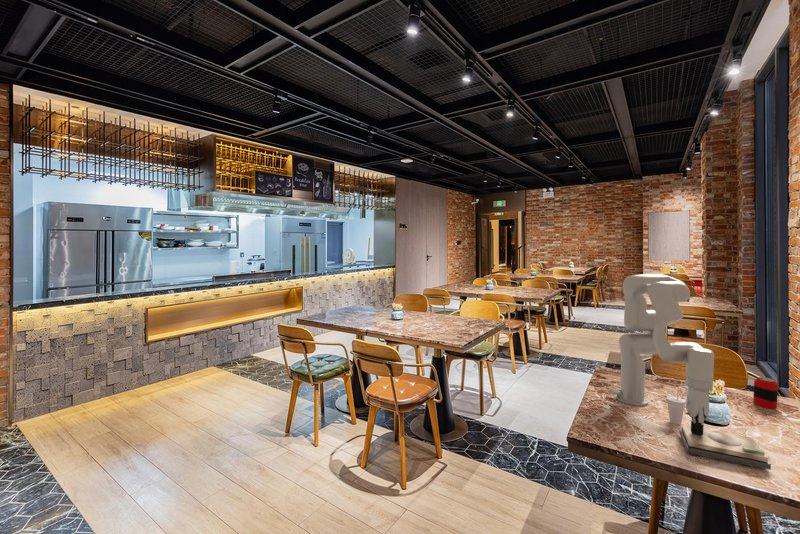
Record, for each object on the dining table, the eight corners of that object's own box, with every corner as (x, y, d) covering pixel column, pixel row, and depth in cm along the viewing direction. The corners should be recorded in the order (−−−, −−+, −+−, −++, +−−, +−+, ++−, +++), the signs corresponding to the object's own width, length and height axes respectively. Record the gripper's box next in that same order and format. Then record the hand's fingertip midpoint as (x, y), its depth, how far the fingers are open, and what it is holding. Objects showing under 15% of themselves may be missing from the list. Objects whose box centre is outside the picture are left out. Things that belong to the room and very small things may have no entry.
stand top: (689, 445, 127) (689, 439, 127) (681, 428, 139) (681, 422, 139) (768, 462, 117) (768, 455, 117) (752, 442, 129) (752, 435, 129)
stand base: (687, 455, 127) (687, 447, 127) (679, 435, 140) (679, 428, 140) (770, 472, 117) (770, 464, 117) (753, 450, 130) (753, 442, 130)
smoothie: (688, 426, 147) (689, 392, 146) (670, 425, 148) (671, 391, 147) (680, 419, 153) (681, 386, 152) (662, 418, 154) (663, 385, 154)
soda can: (751, 400, 172) (752, 375, 171) (773, 404, 168) (774, 378, 167) (756, 406, 165) (757, 380, 164) (779, 410, 161) (780, 383, 161)
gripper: (681, 374, 139) (679, 422, 140) (690, 388, 126) (687, 440, 127) (707, 378, 135) (705, 427, 136) (718, 392, 122) (715, 446, 123)
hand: (696, 433), depth 131 cm, fingers closed
